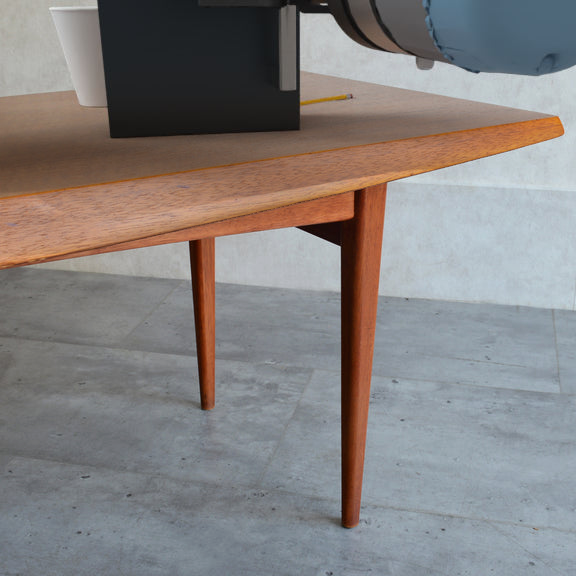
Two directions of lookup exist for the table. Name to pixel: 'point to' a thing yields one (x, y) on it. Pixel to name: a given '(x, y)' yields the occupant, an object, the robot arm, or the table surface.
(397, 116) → the table surface
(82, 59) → the cup
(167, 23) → the door
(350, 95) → the pencil
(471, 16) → the robot arm
